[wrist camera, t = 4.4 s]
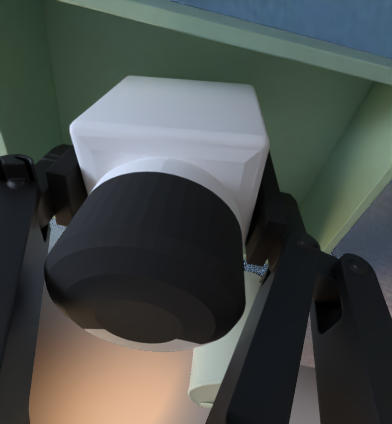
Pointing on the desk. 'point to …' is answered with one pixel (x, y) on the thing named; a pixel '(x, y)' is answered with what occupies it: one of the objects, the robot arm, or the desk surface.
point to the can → (218, 353)
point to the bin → (206, 71)
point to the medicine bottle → (161, 213)
